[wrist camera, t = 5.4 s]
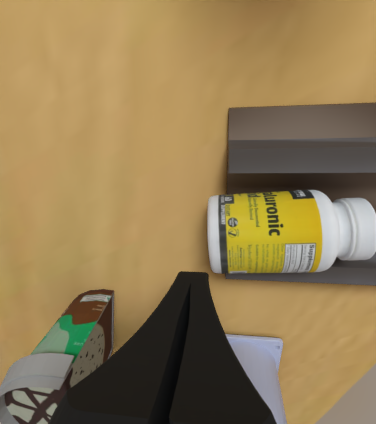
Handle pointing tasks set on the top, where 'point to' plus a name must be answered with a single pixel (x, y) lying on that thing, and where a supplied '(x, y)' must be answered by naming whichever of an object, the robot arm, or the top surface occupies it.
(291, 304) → the top surface
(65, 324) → the food container
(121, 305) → the top surface
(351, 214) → the supplement bottle
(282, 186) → the bottle rest
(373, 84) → the top surface
